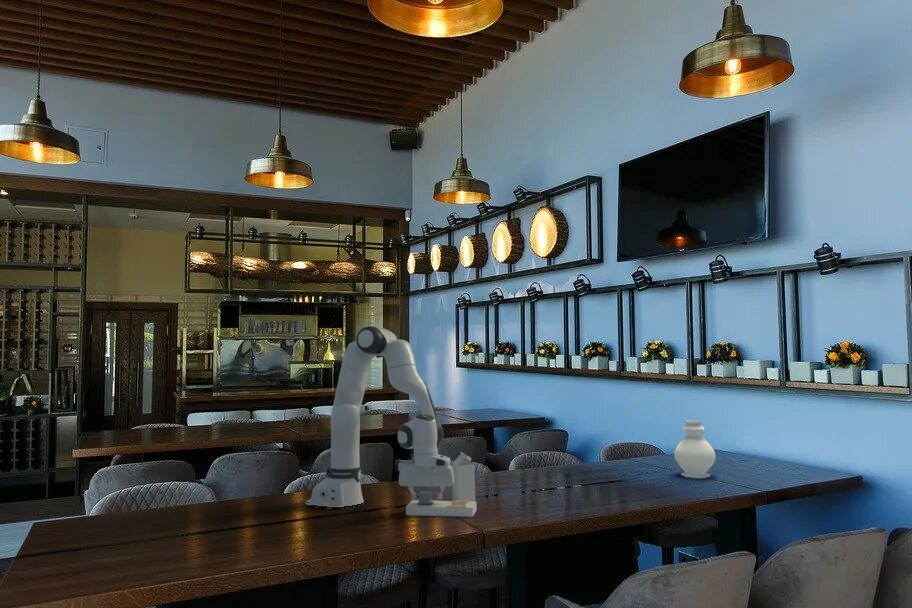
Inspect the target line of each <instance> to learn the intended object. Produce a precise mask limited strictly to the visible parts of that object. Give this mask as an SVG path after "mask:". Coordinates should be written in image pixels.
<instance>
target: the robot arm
mask: <svg viewBox="0 0 912 608" xmlns="http://www.w3.org/2000/svg"><path fill="white" fill-rule="evenodd" d="M414 355H415V354H414V353H413V349H412V346H411V344H410V343H409V342H408V341H407V340H405V339H400V338H399V336H398V335H397V333H396V332H394V331H392V330H389V329H387V328H384V327H377V326H373V325H370V326H364V327H363V328H361V329H360V330H359V331H358V333H357V334H356V338H355V340H354V341H352V342H349V344H348V345H347V346H346V349H345V352H344V354H343V358H342V362H341V367H340V371H339V376H338V379H337V380H338V381H337V386H336V390H335V395H334V400H333V404H332V410H331V413H330V416H331V417H330V465H331V466H329V467H328V468H327V469H326V470H325V474H326V477H325V478H324V479H322V480H321V481H320V482H319V483H317V484H316V486H315V487H313V489H312V492H311V495H310V496H311V498H309V499H308V500H306V501H305V504H307V505H317V506H327V507H344V506H352V505H357V504H361V503H363V502H364V503H365V500H364V498H363V492H362V486H361V485H362V484H361V479H362V471H361V469H362V468H361V467H362V466H361V465H360V464H361V463H360V459H361V457H360V456H361V455H360V442H361V441H360V437H361V436H360V435H361V432H360V431H361V429H360V427H361V417H360V414H361V413H360V412H361V408H362V403H363V399H364V395H365V392H366V386H367V382H368V376H369V371H370V365H371V362H372V360H373V359H374V358H378V359H379V358H384V359H385V362H386V369H387V375H388V376H387V377H388V380H389V383H390V385H391V386H392V387H393V388H394V389H395V390H397V391H399V392H401V393H404V394H408V395H409V396H412V397H413V398H414V399H415V400H416V401H417V403H418V407H419V410H420V412H421V413H420V414H417V415H415V416H414V417H413V419H412V420H410V421H408V422H405V423H403V424H401V425H399V427H398V429H397V432H396V438H397V439H396V440H397V441H396V442H397V443H398V445H399V446H400V447H401V448H402V449H407V450H410V449H411V450H412V449H413V459H408V460H407V459H403V460H401V461H400V462H398V465H397V467H398V470H397V471H398V472H399V475H398V484H399V486H400V487H408V491H409V492H410V494H411V499H412V500H417V497H418V496H417V493H416V492H415V491H414V487H439V489H440V490H441V491H440V492H438V493H437V495H436V496H437V499H438V500H441V499H443V492H444V490H445V489H446V487H453V484H454V472H453V468H452V465H451V458H450V457H449V456H446V455H441V454H439V450H438V446H439V445H440V444H441V442H442V440H443V439H444V434H445V433H444V428H443V426H442V424H441V422H440V420H439V418H438V414H437V412H436V409H435V405H434V402H433V398H432V396H431V393H430V392H431V391H430V389H429V387H428V385H427V382H426V381H424V379H422V378H421V376H420V374H419V372H418V370H417V366H416V360H415V356H414ZM307 502H310V503H307ZM364 503H363V504H364ZM361 505H362V504H361Z"/></svg>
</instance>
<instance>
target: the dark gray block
mask: <svg viewBox="0 0 912 608" xmlns="http://www.w3.org/2000/svg"><path fill="white" fill-rule="evenodd" d="M418 500H419V505H432V500H433V492H432V490H429V491H428V490H421V491H420V492H419V493H418Z"/></svg>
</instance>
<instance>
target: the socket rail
mask: <svg viewBox="0 0 912 608" xmlns="http://www.w3.org/2000/svg"><path fill="white" fill-rule="evenodd" d="M477 506H478V505H477V501H476V500H475V501H459V500H453V499H452V500H433V499H432V505H419V499H412V500H411V501H410V502H409V503H408V504H407V505H406V506H405V516H424V517H425V516H426V517H429V516H431V517H460V518H461V517H465V518H466V517H469V518H471V517H474V515H475V514H476V512H477V509H478V508H477Z"/></svg>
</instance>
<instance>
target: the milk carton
mask: <svg viewBox="0 0 912 608" xmlns="http://www.w3.org/2000/svg"><path fill="white" fill-rule="evenodd" d="M471 460H472V457H470V456H469V455H466V454H465V453H464V452H462V451H460V455H459V456H458V457H457V458H455V460H454V461H452V463H451V464H452V465H451V466H452V468H453V472H454V484H453V485H452V500H459V501H476V480H475V479H476V476H475V475H476V473H475V472H476V471H475V469H476V468H475V464H474V462H472V461H471Z"/></svg>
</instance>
